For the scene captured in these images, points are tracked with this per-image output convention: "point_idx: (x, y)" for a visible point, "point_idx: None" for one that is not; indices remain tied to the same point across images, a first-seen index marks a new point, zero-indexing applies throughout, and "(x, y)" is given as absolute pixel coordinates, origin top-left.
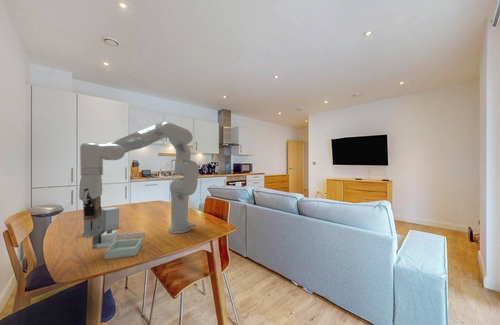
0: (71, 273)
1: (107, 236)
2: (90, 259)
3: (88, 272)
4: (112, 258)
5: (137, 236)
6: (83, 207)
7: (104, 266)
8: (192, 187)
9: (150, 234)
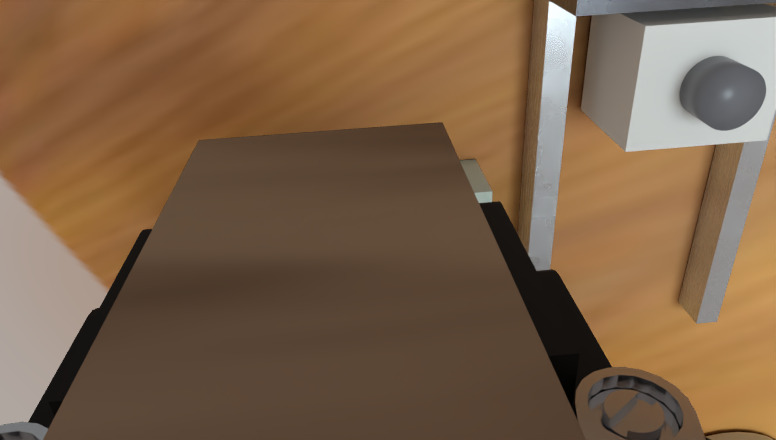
0: (10, 33)
1: (624, 90)
2: (269, 55)
3: (31, 157)
4: None
5: (693, 260)
6: (104, 326)
7: (125, 224)
8: None
9: (719, 329)
